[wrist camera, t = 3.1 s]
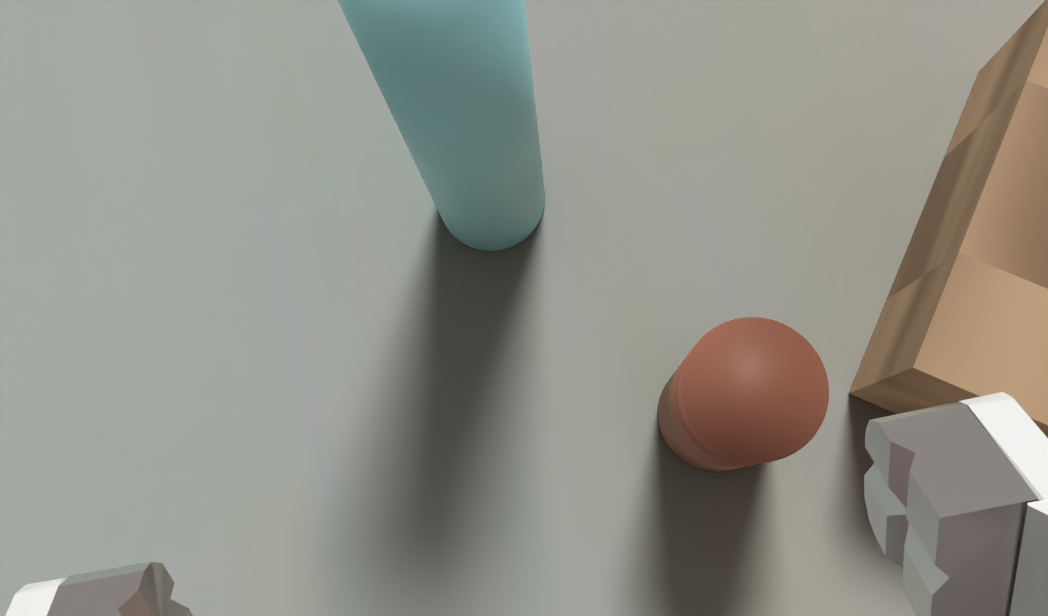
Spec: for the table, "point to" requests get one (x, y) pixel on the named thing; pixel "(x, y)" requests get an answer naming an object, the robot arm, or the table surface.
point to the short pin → (744, 396)
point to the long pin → (461, 108)
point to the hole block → (977, 254)
